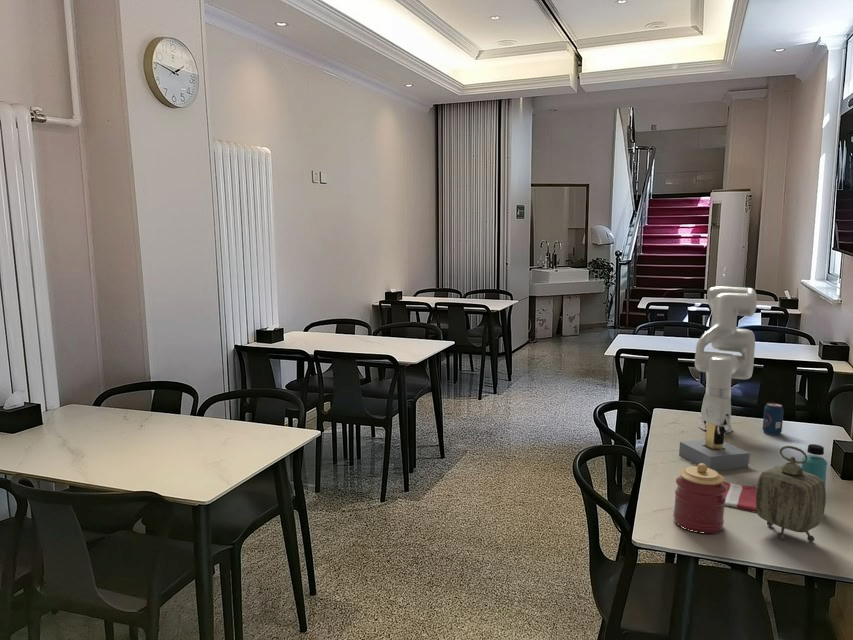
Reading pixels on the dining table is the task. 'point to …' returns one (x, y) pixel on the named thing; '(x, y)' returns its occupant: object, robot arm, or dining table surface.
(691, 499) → the canister
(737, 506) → the dish towel
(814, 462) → the beverage bottle
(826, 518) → the dining table surface
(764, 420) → the soda can
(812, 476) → the tabletop clock
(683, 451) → the well block
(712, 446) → the wooden square peg
